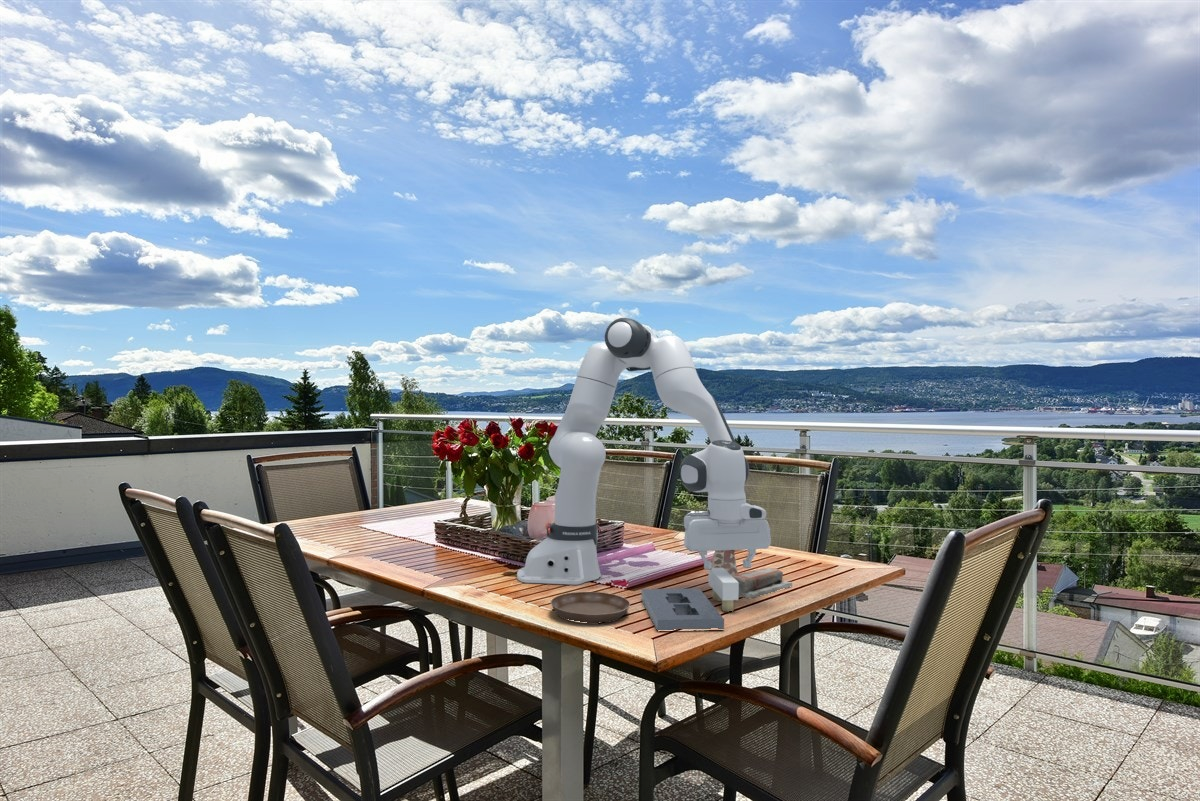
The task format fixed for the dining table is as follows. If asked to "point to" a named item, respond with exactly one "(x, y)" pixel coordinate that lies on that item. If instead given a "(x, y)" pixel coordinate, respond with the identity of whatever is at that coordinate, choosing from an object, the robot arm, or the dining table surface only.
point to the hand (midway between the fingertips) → (727, 568)
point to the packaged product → (760, 582)
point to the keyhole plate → (681, 609)
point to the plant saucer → (590, 606)
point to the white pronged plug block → (723, 587)
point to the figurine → (725, 561)
